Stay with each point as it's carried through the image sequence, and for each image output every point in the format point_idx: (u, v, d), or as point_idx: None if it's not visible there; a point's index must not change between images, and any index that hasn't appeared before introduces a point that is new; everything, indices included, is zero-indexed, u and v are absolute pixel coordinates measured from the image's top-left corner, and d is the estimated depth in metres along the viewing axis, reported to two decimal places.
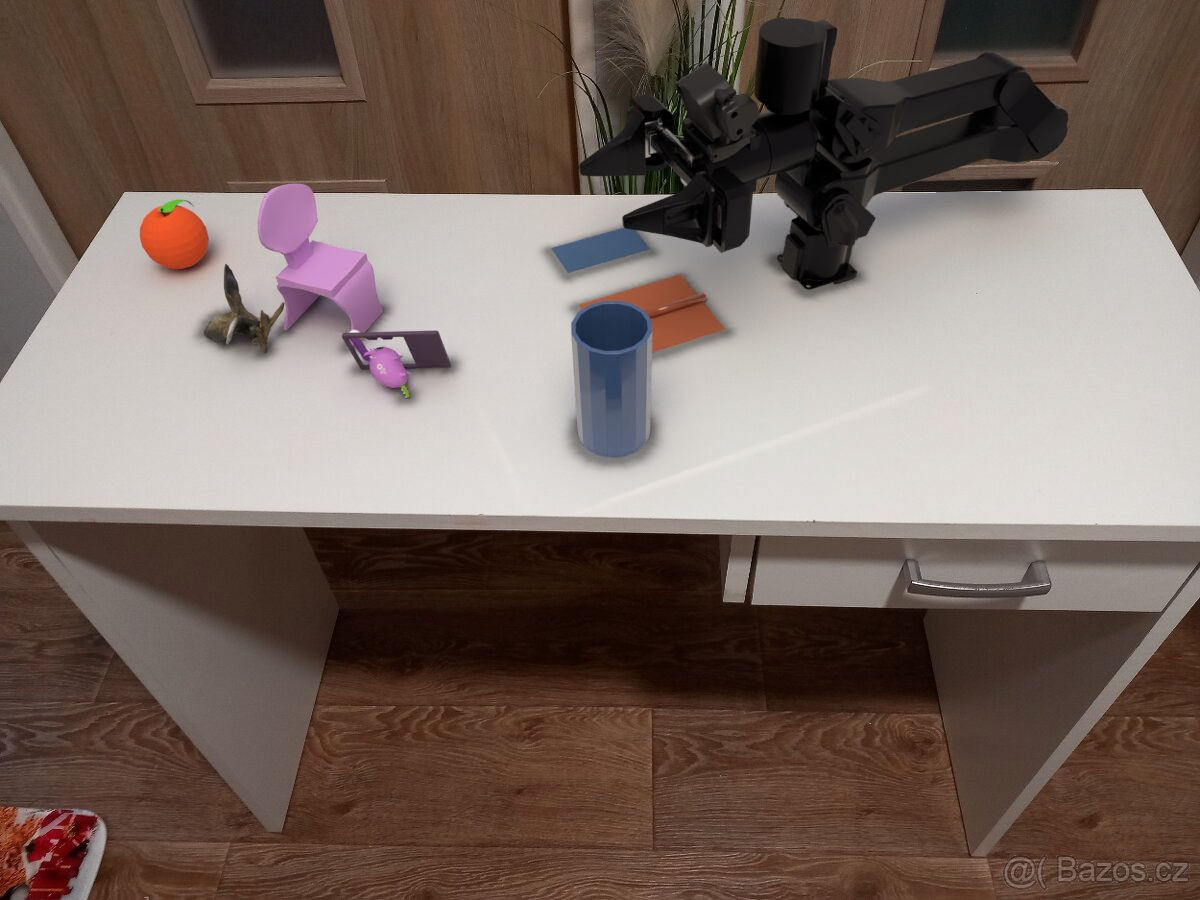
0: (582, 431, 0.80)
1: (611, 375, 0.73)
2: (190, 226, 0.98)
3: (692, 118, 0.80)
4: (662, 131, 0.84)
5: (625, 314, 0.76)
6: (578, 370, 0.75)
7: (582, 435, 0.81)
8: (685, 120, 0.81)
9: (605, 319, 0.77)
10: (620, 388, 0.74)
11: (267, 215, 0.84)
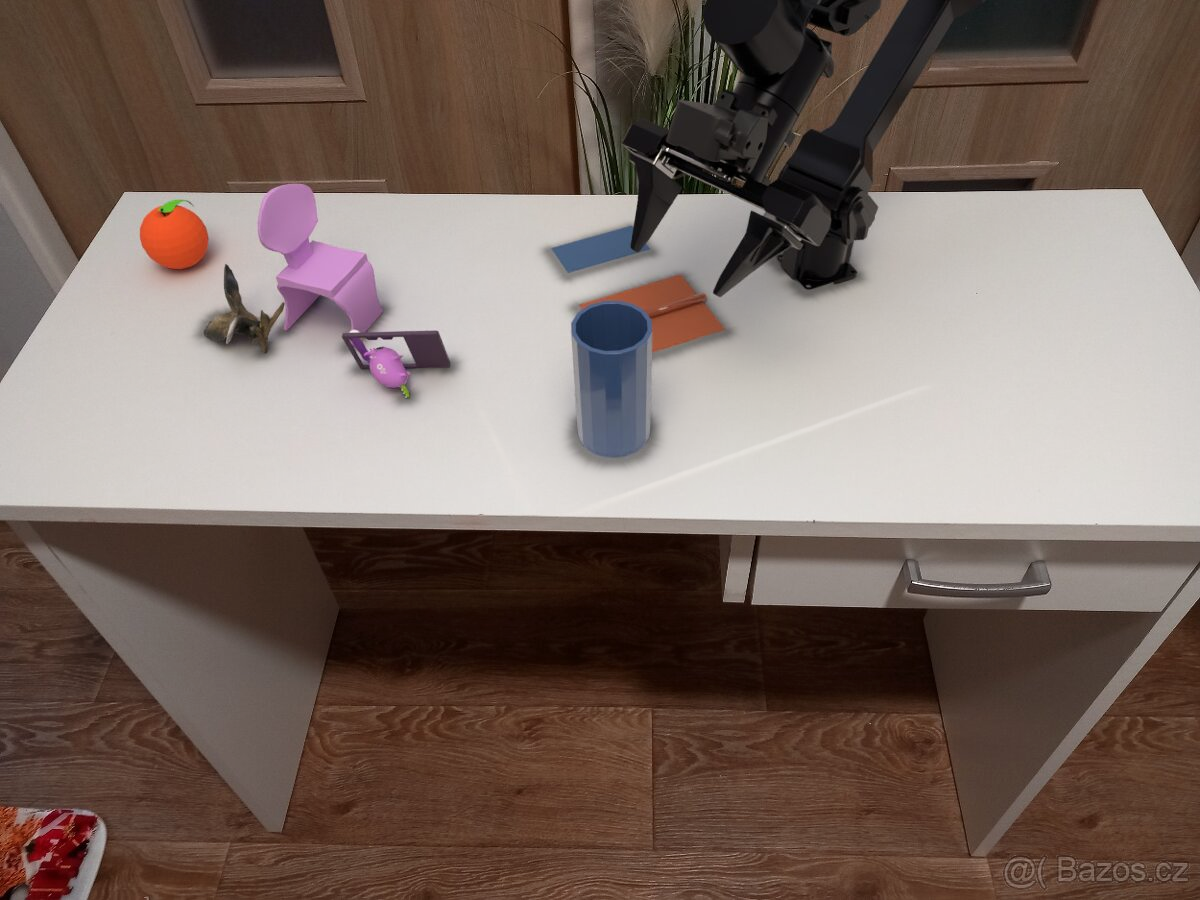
0: (582, 431, 0.80)
1: (611, 375, 0.73)
2: (190, 226, 0.98)
3: None
4: (673, 155, 0.76)
5: (625, 314, 0.76)
6: (578, 370, 0.75)
7: (582, 435, 0.81)
8: None
9: (605, 319, 0.77)
10: (620, 388, 0.74)
11: (267, 215, 0.84)
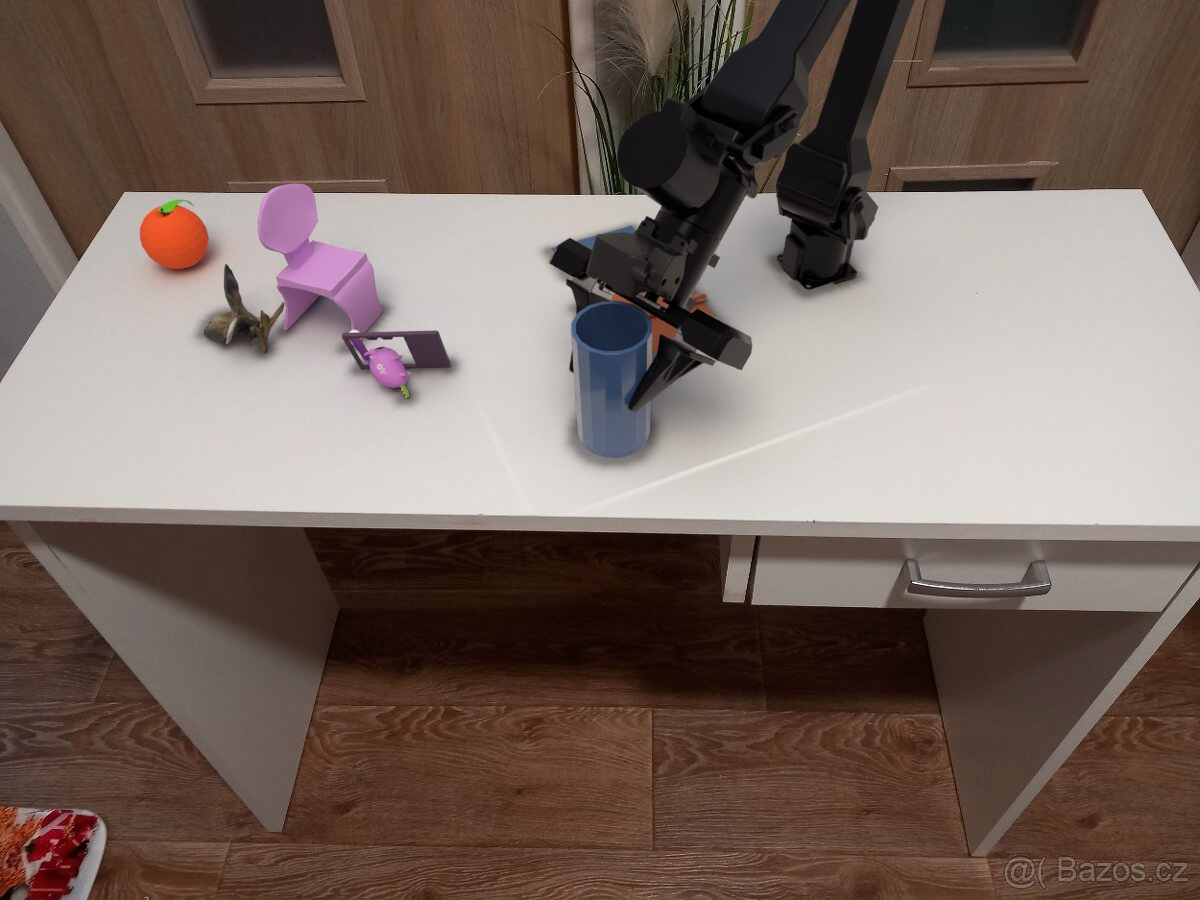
0: (582, 431, 0.80)
1: (611, 375, 0.73)
2: (190, 226, 0.98)
3: None
4: None
5: (625, 314, 0.76)
6: (578, 370, 0.75)
7: (582, 435, 0.81)
8: None
9: (605, 320, 0.77)
10: (620, 388, 0.74)
11: (267, 215, 0.84)
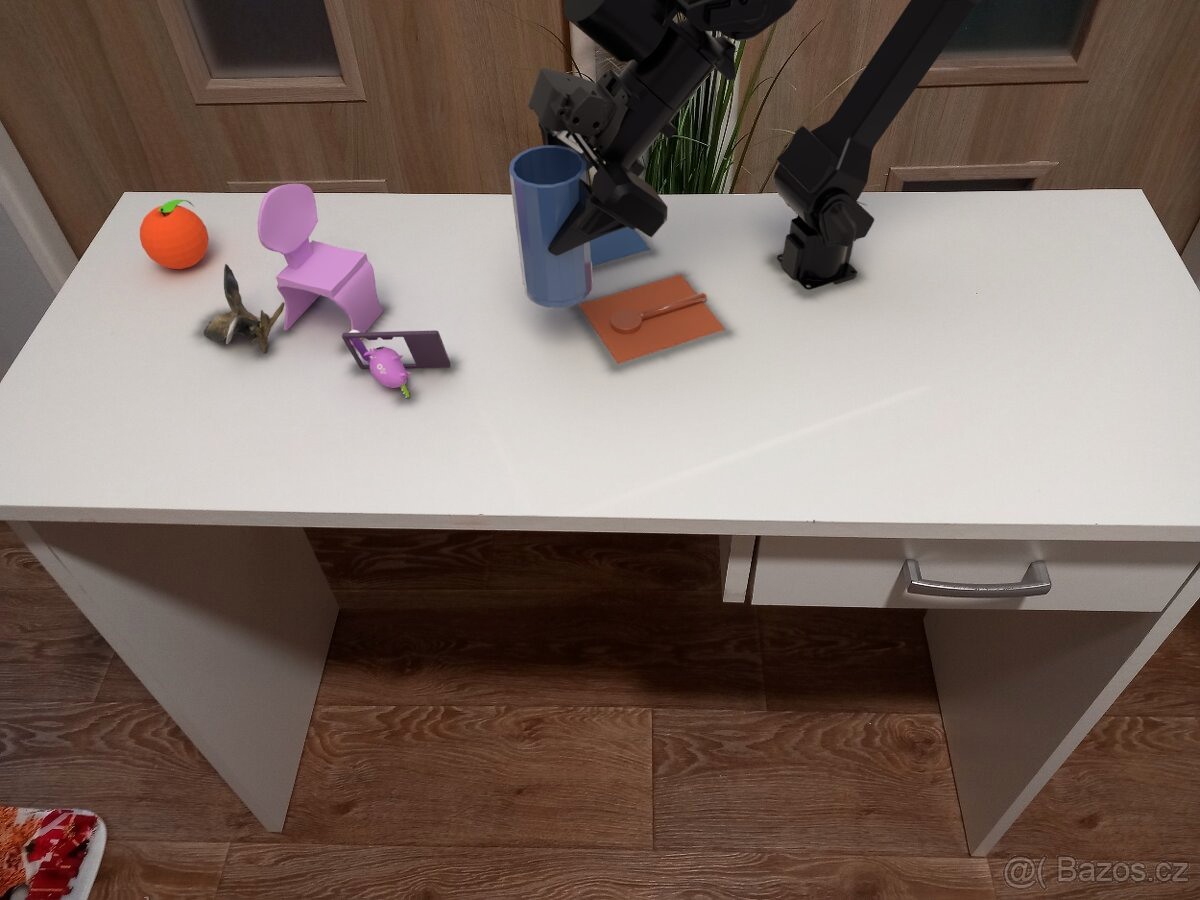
0: (521, 269, 0.85)
1: (531, 209, 0.77)
2: (190, 226, 0.98)
3: None
4: None
5: (574, 163, 0.79)
6: (513, 201, 0.79)
7: (522, 274, 0.85)
8: None
9: (559, 165, 0.80)
10: (540, 225, 0.78)
11: (267, 215, 0.84)
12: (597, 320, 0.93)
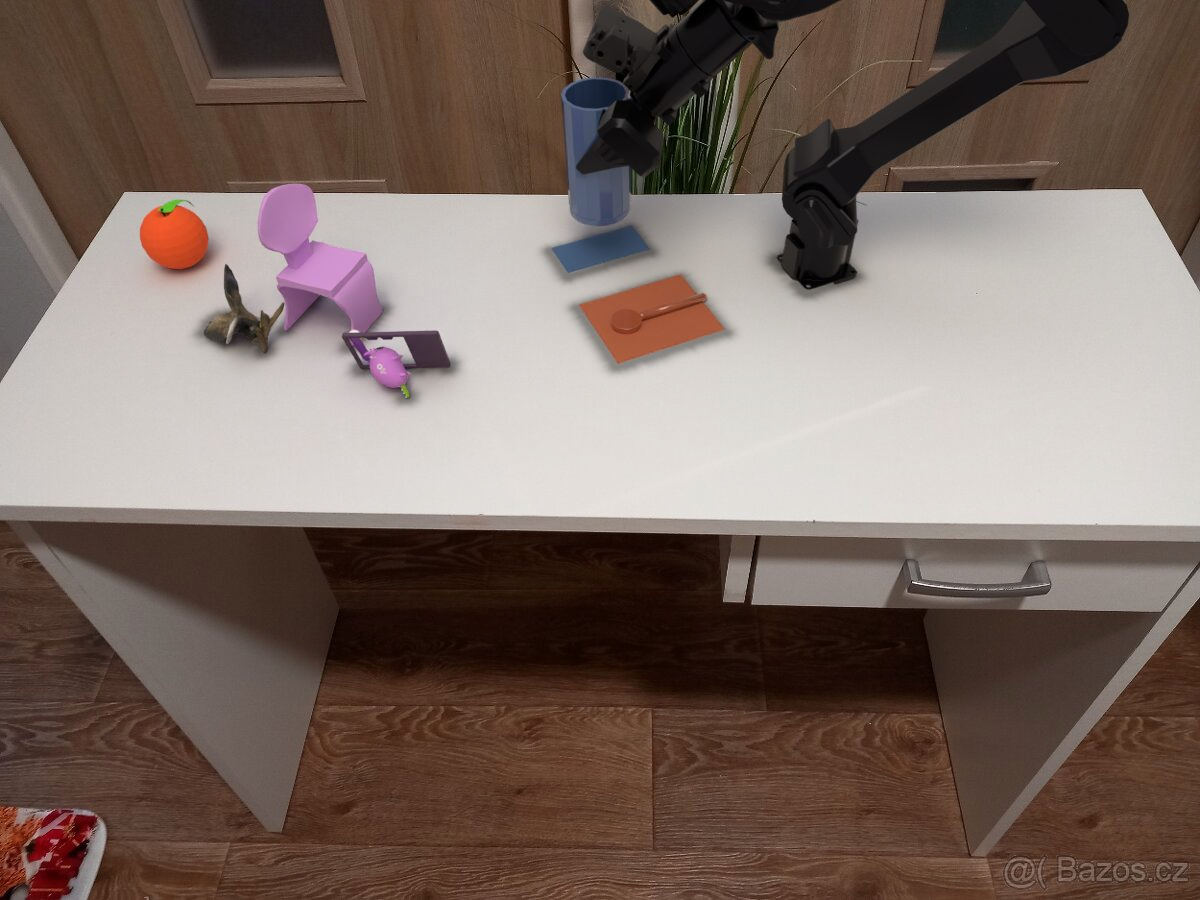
0: None
1: (567, 125, 0.88)
2: (190, 226, 0.98)
3: None
4: None
5: None
6: None
7: None
8: None
9: (617, 99, 0.90)
10: (572, 143, 0.89)
11: (267, 215, 0.84)
12: (597, 320, 0.93)
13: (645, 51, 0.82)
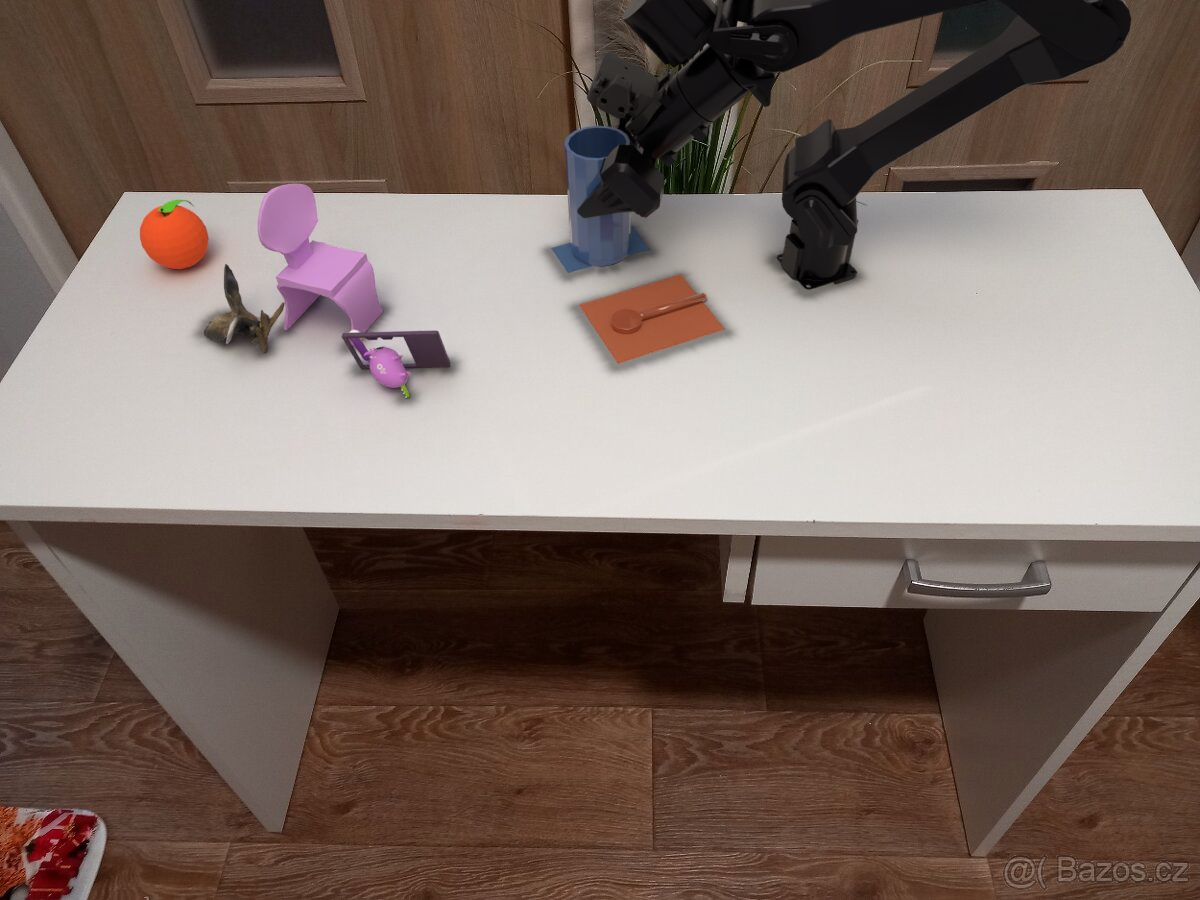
0: None
1: (570, 173, 0.92)
2: (190, 226, 0.98)
3: None
4: None
5: None
6: None
7: None
8: None
9: None
10: (575, 189, 0.93)
11: (267, 215, 0.84)
12: (597, 320, 0.93)
13: (647, 98, 0.85)
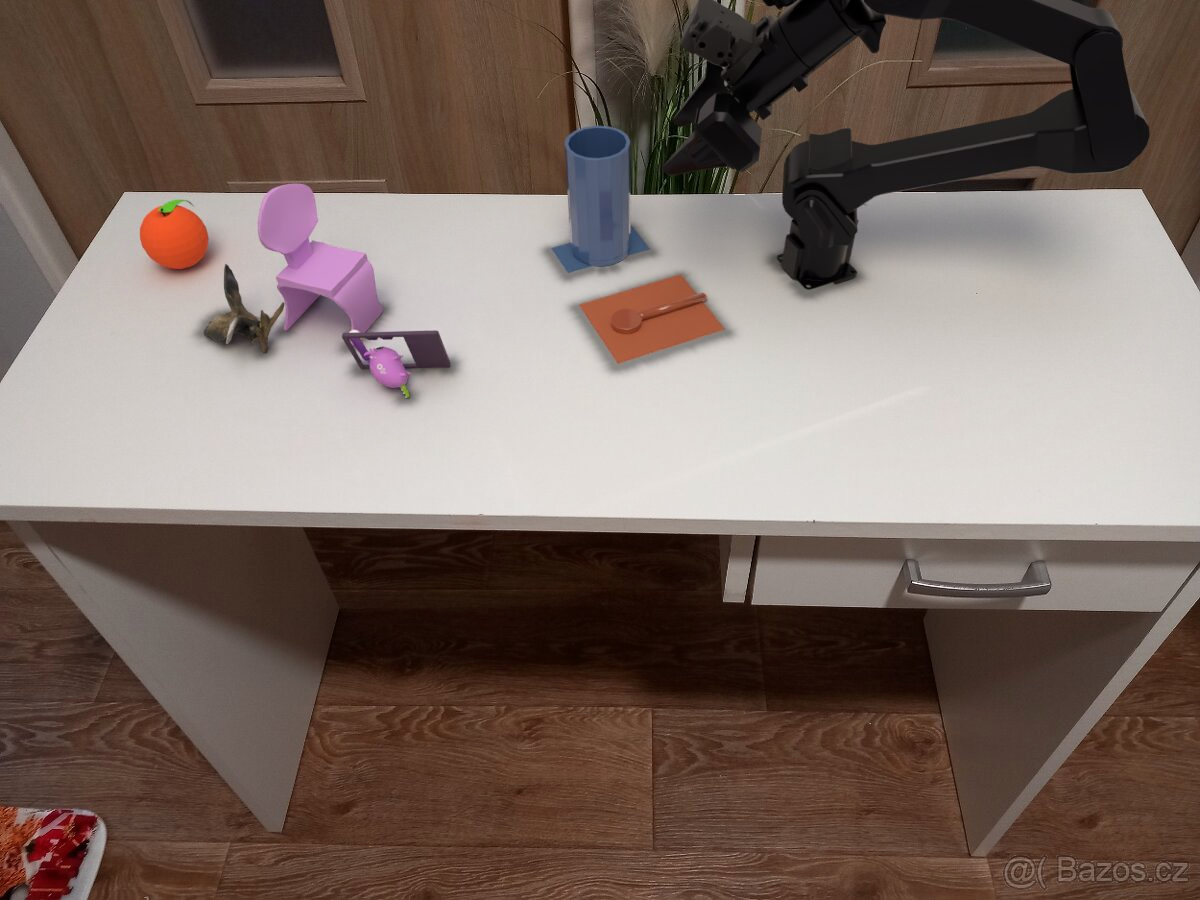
0: None
1: (570, 173, 0.92)
2: (190, 226, 0.98)
3: None
4: None
5: (625, 148, 0.93)
6: None
7: None
8: None
9: (617, 146, 0.94)
10: (575, 189, 0.93)
11: (267, 215, 0.84)
12: (597, 320, 0.93)
13: (746, 43, 0.80)
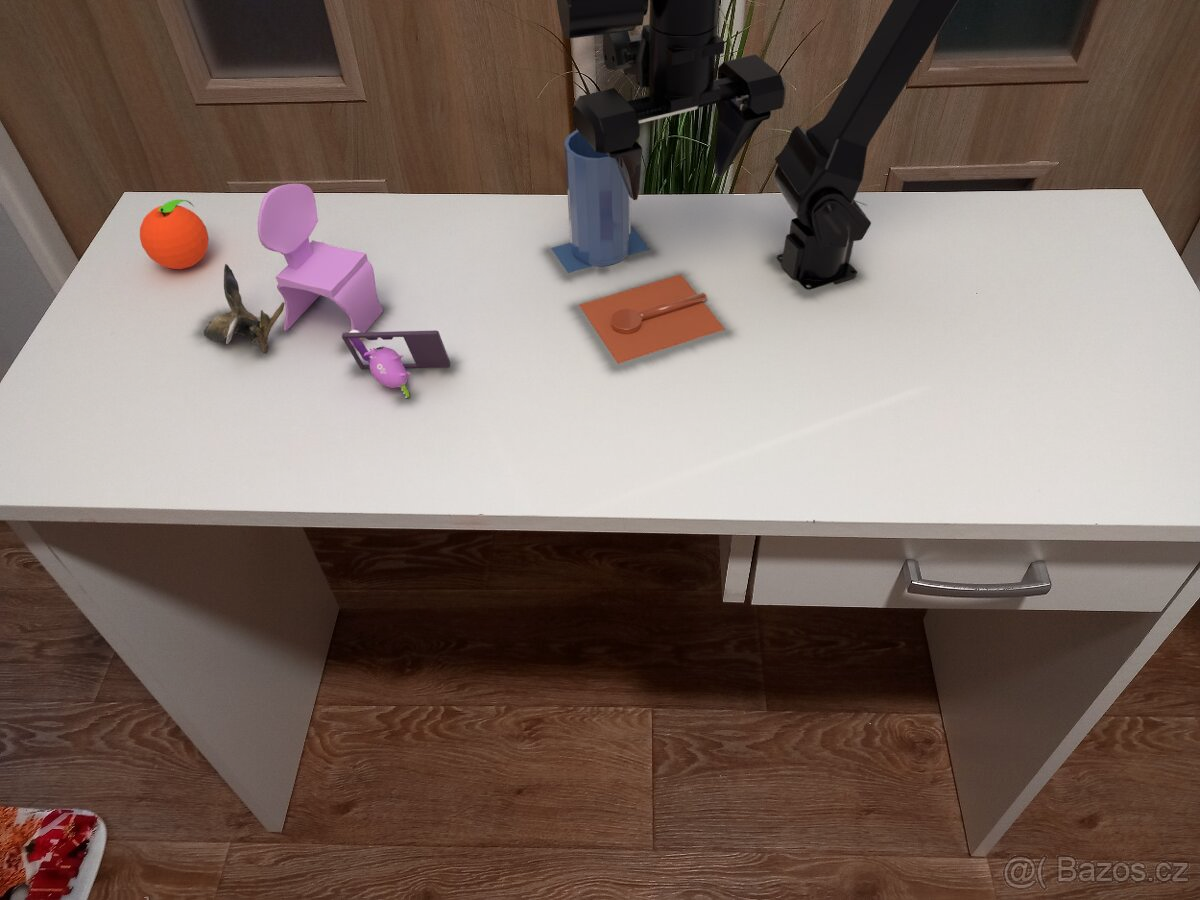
0: None
1: (570, 173, 0.92)
2: (190, 226, 0.98)
3: None
4: None
5: None
6: None
7: None
8: None
9: None
10: (575, 189, 0.93)
11: (267, 215, 0.84)
12: (597, 320, 0.93)
13: None
